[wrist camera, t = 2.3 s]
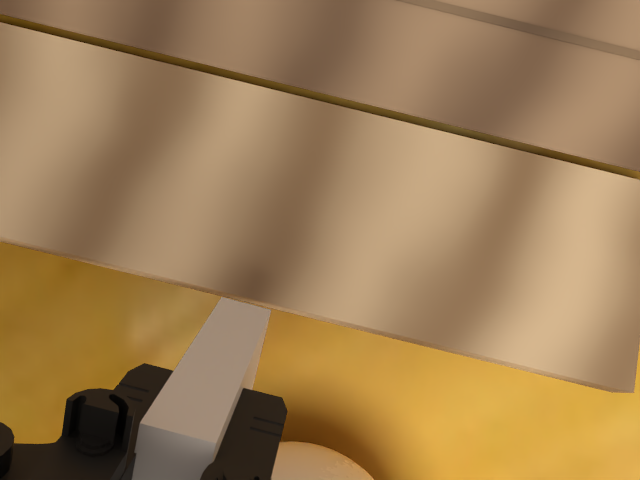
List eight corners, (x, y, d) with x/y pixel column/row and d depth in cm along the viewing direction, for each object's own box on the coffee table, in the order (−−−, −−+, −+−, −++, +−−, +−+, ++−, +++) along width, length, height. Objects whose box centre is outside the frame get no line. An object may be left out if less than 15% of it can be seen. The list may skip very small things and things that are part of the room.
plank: (-109, 214, 23) (-135, 203, 22) (-31, 31, 25) (-50, 9, 24) (611, 392, 23) (633, 392, 22) (635, 195, 25) (657, 184, 24)
